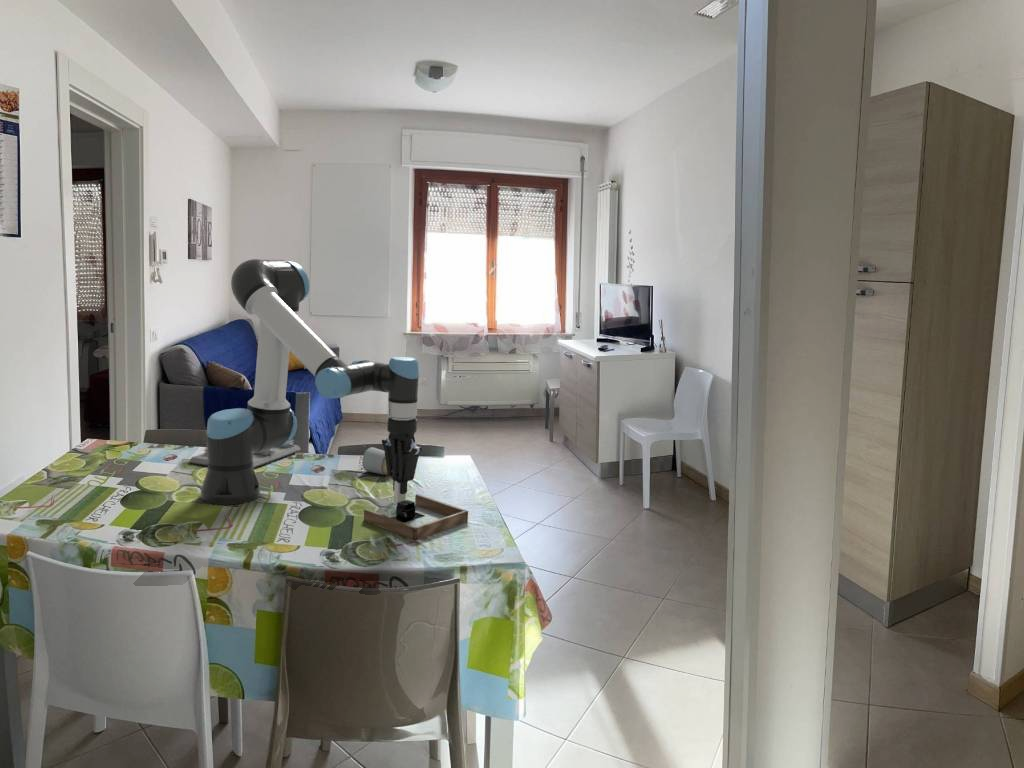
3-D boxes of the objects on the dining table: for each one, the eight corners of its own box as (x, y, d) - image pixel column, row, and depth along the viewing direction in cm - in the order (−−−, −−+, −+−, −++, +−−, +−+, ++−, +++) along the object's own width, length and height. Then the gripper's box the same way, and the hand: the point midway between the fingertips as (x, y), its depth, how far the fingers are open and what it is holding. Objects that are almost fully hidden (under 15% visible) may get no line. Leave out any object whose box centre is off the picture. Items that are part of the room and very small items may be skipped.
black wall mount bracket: (397, 528, 188) (397, 511, 187) (377, 521, 192) (378, 504, 192) (431, 517, 198) (432, 500, 197) (412, 510, 202) (413, 494, 201)
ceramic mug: (382, 477, 228) (383, 453, 227) (361, 473, 231) (362, 449, 230) (402, 470, 237) (403, 447, 236) (381, 466, 241) (382, 443, 240)
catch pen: (414, 540, 179) (415, 528, 179) (363, 520, 191) (364, 509, 190) (467, 521, 194) (468, 510, 193) (417, 504, 205) (417, 494, 205)
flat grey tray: (250, 444, 260) (250, 424, 259) (302, 452, 253) (302, 432, 252) (187, 464, 232) (186, 442, 231) (244, 474, 225) (244, 452, 224)
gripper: (430, 419, 191) (427, 507, 195) (396, 411, 199) (393, 495, 202) (409, 423, 185) (406, 514, 189) (374, 414, 193) (372, 501, 197)
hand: (399, 504), depth 196 cm, fingers closed
